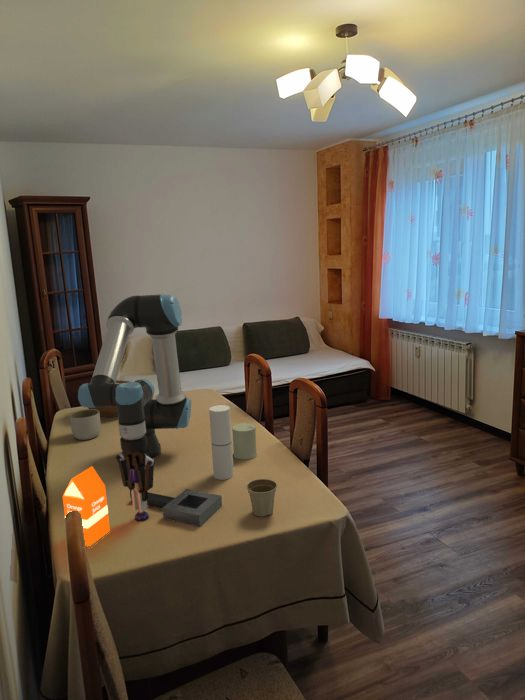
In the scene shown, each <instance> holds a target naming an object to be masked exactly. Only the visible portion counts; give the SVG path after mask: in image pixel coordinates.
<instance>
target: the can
mask: <svg viewBox="0 0 525 700" xmlns="http://www.w3.org/2000/svg"><path fill="white" fill-rule="evenodd" d="M256 429H257V428H256V425H255V424H253V423H249V422H241V423H236V424H234V425H233V426H231V432H232V441H233V442H232V448H233V453H232V455H233V458H235V459H237V460H241V461H243V460H244V461H245V460H251V459H254V458H256V457H257V455H258V453H257V439H256V438H257V437H256V434H257V433H256Z"/></svg>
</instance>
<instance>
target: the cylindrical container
mask: <svg viewBox="0 0 525 700" xmlns="http://www.w3.org/2000/svg"><path fill="white" fill-rule="evenodd" d="M208 410H209V412H208V413H209V425H210V426H209V427H210V440H211V441H210V442H211V457H212V459H211V460H212V472H213V475H212V476H213V478H214V479H216V480H219V481H221V480H223V481H225V480H229V479H231V478H233V477H234V474H235V473H234V460H233V459H234V456H233V442H232V441H233V436H232V425H231V423H232V422H231V421H232V420H231V408H230V405H226V404H220V405H219V404H218V405H214V406H211V407H209V409H208Z"/></svg>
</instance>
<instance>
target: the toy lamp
mask: <svg viewBox="0 0 525 700" xmlns="http://www.w3.org/2000/svg"><path fill="white" fill-rule="evenodd" d="M129 482H131V483H134V484H135V489H136V491H135V492H136V498H137V503H138V504H137V507H138V509H137V512H136V513H135V515H134V521H136V522H139V521H141V522H145V521H147V520H148V519H149V518H150V515H149V513H148V512H147V511H146V510H145V511H143V512H140V508H139V498H138V491H139V490H140V488H139V482H140V480H139V477H138V474H137V471H136V470H135V466H134V467H132V468H131V469H130V473H129Z"/></svg>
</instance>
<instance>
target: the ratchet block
mask: <svg viewBox="0 0 525 700" xmlns="http://www.w3.org/2000/svg"><path fill="white" fill-rule="evenodd" d="M130 499H131V498H130ZM222 500H223V499H222V495H220V494H215V493H211V492H210V493H209V492H206V491H205V492H204V491H200V490H194V489H189V488H186V489H184V490H183V491H182V492H181V493H179V494H178V495H176V496H175V497H173V496H167V495H164V494H158V493H155V492H154V493H153V492H149V491H148V500H147V507H148V506H149V507H153V508H157V509H158V508H159V509H162V516H163V517H162V519H164V518H165V520H170V521H173V520H174V522H176V523H177V522H178V523H182V524H186V525H187V524H188V525H191V526H194V527H201V526H203V524H205V522H207V521H208V520H209V519H210V518H211V517H212V516H213V515H214V514H215V513H216V512H217V511H218V510H219V509H221V507H223V501H222ZM131 502H132V499H131ZM208 518H209V519H208ZM207 519H208V520H207Z"/></svg>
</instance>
